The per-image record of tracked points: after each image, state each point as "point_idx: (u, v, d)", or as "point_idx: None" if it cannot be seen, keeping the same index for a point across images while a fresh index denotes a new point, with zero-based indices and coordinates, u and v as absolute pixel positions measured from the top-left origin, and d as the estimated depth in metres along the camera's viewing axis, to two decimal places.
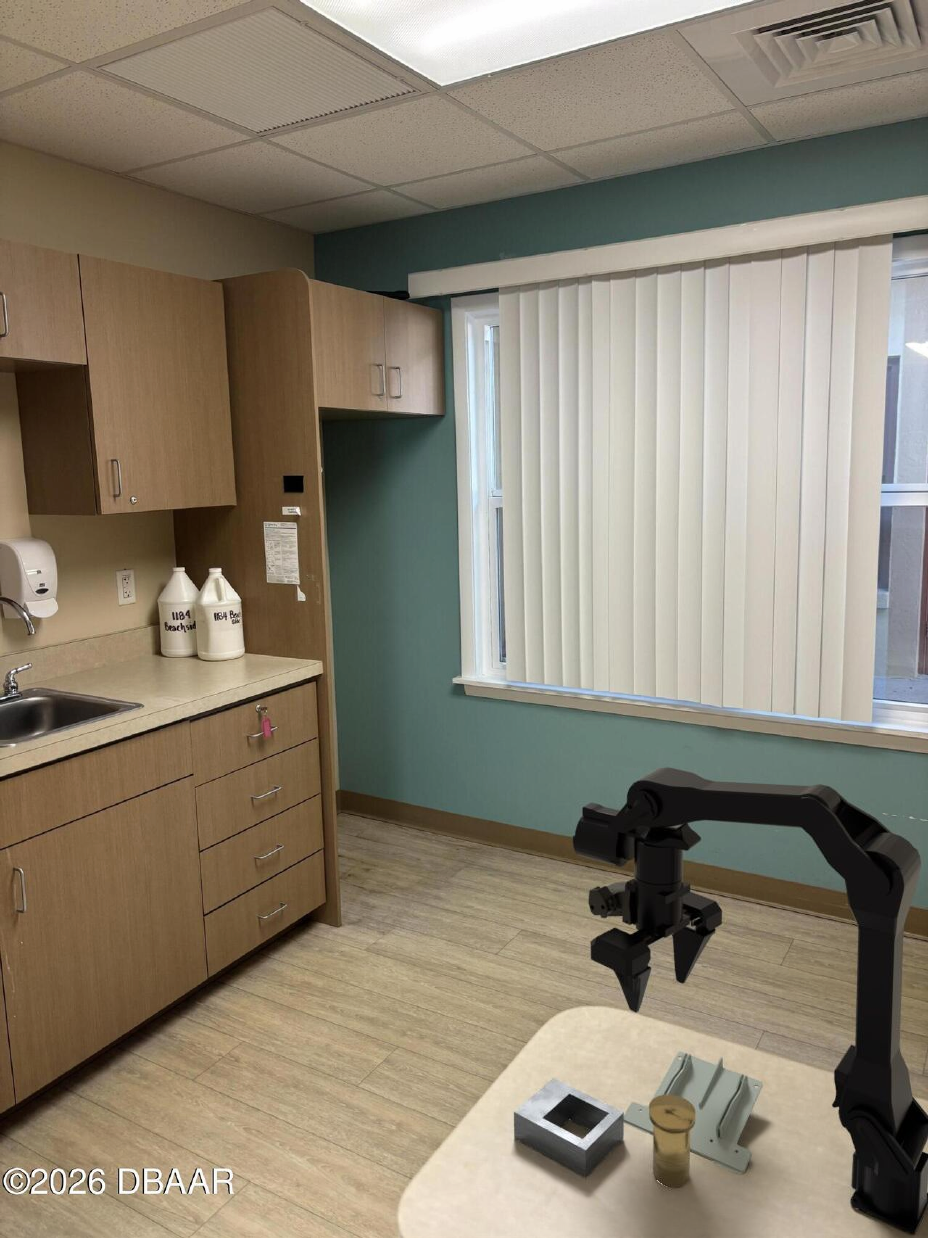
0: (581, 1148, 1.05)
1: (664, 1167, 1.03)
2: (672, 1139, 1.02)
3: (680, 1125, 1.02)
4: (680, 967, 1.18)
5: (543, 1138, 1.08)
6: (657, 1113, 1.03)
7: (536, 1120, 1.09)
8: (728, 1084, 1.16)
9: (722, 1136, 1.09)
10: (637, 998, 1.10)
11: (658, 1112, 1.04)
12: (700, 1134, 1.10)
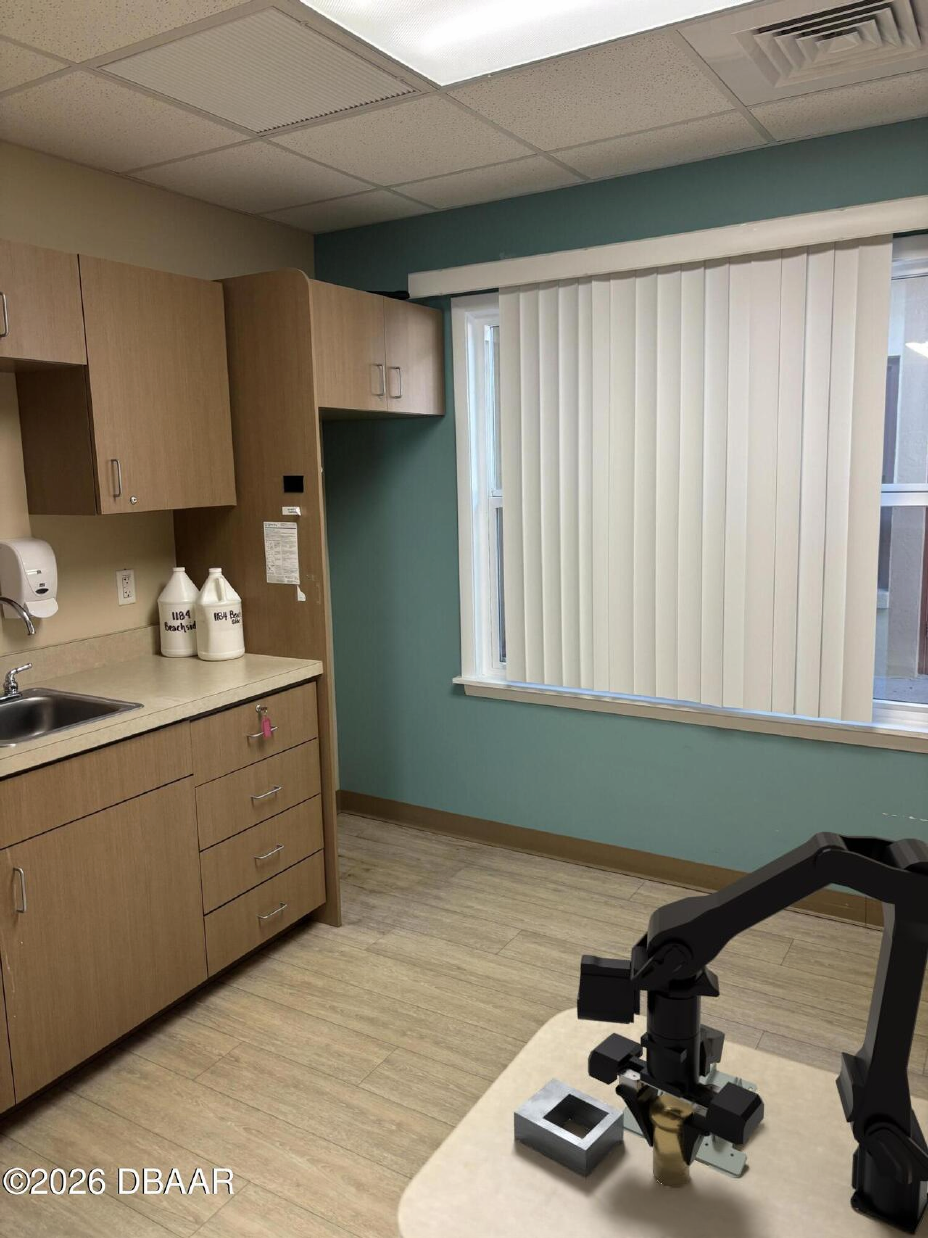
0: (581, 1148, 1.05)
1: (664, 1167, 1.03)
2: (672, 1139, 1.02)
3: (681, 1125, 1.02)
4: None
5: (543, 1138, 1.08)
6: (657, 1112, 1.04)
7: (536, 1120, 1.09)
8: (722, 1087, 1.15)
9: (717, 1139, 1.09)
10: (640, 1127, 1.06)
11: (658, 1112, 1.04)
12: None
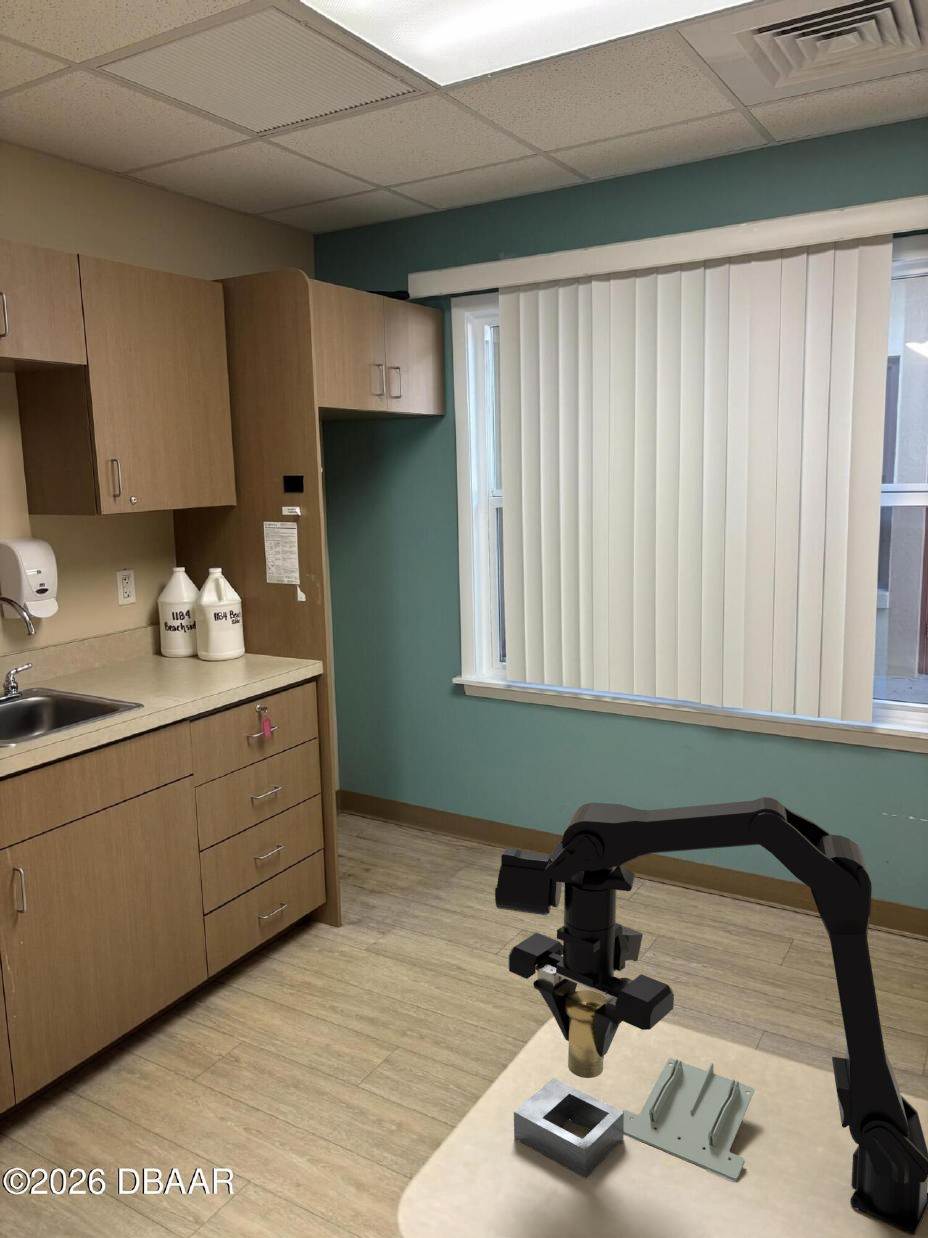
0: (581, 1148, 1.05)
1: (578, 1057, 1.06)
2: (586, 1029, 1.05)
3: (594, 1015, 1.04)
4: None
5: (543, 1138, 1.08)
6: (572, 1005, 1.06)
7: (536, 1120, 1.09)
8: (719, 1090, 1.15)
9: (714, 1143, 1.08)
10: None
11: (574, 1004, 1.06)
12: (692, 1142, 1.09)
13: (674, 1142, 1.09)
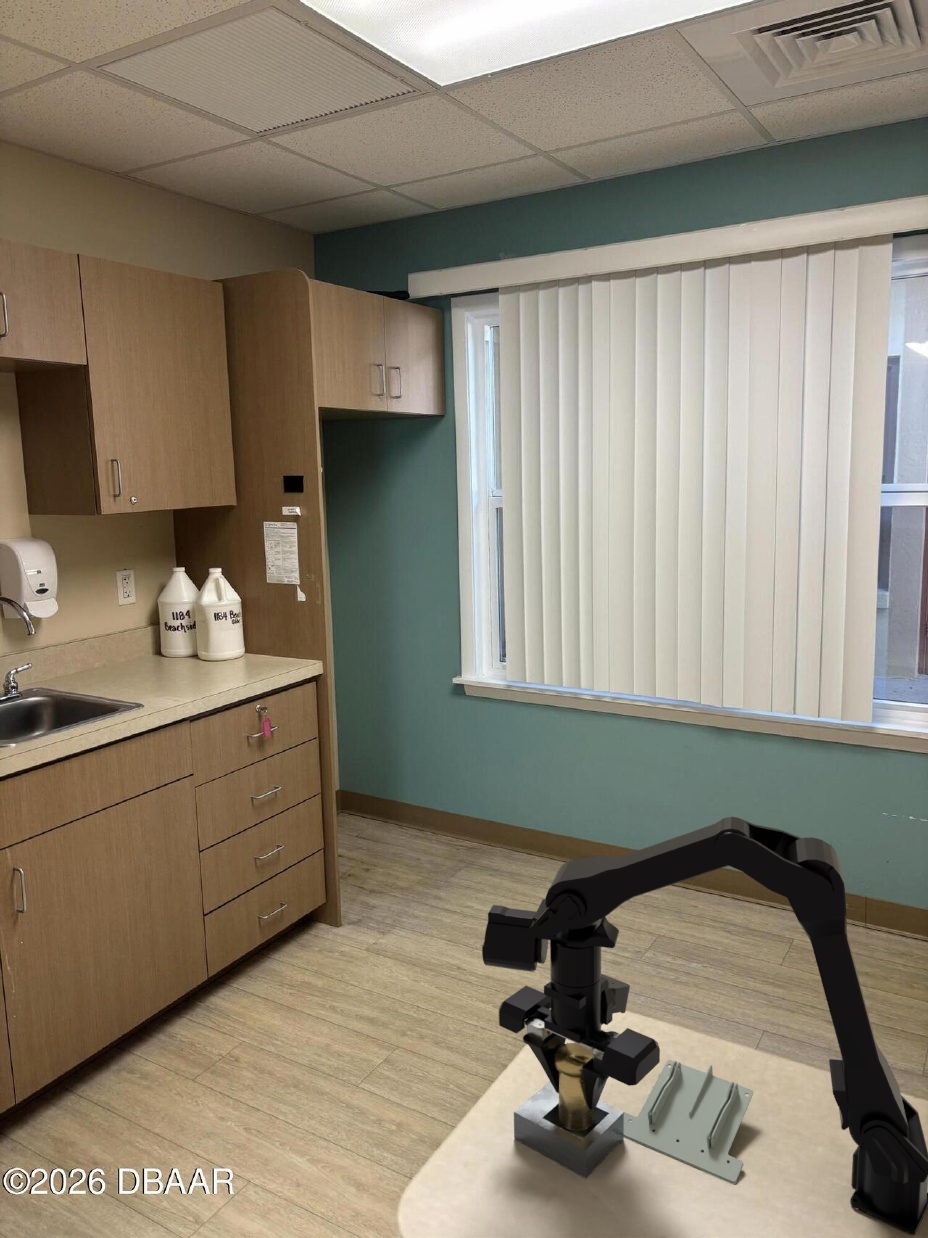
0: (581, 1148, 1.05)
1: (568, 1110, 1.08)
2: (575, 1083, 1.07)
3: (582, 1070, 1.06)
4: None
5: (543, 1138, 1.08)
6: (561, 1058, 1.08)
7: (536, 1120, 1.09)
8: (718, 1092, 1.14)
9: (713, 1146, 1.08)
10: (547, 1074, 1.10)
11: (562, 1058, 1.08)
12: (691, 1144, 1.09)
13: (672, 1144, 1.09)
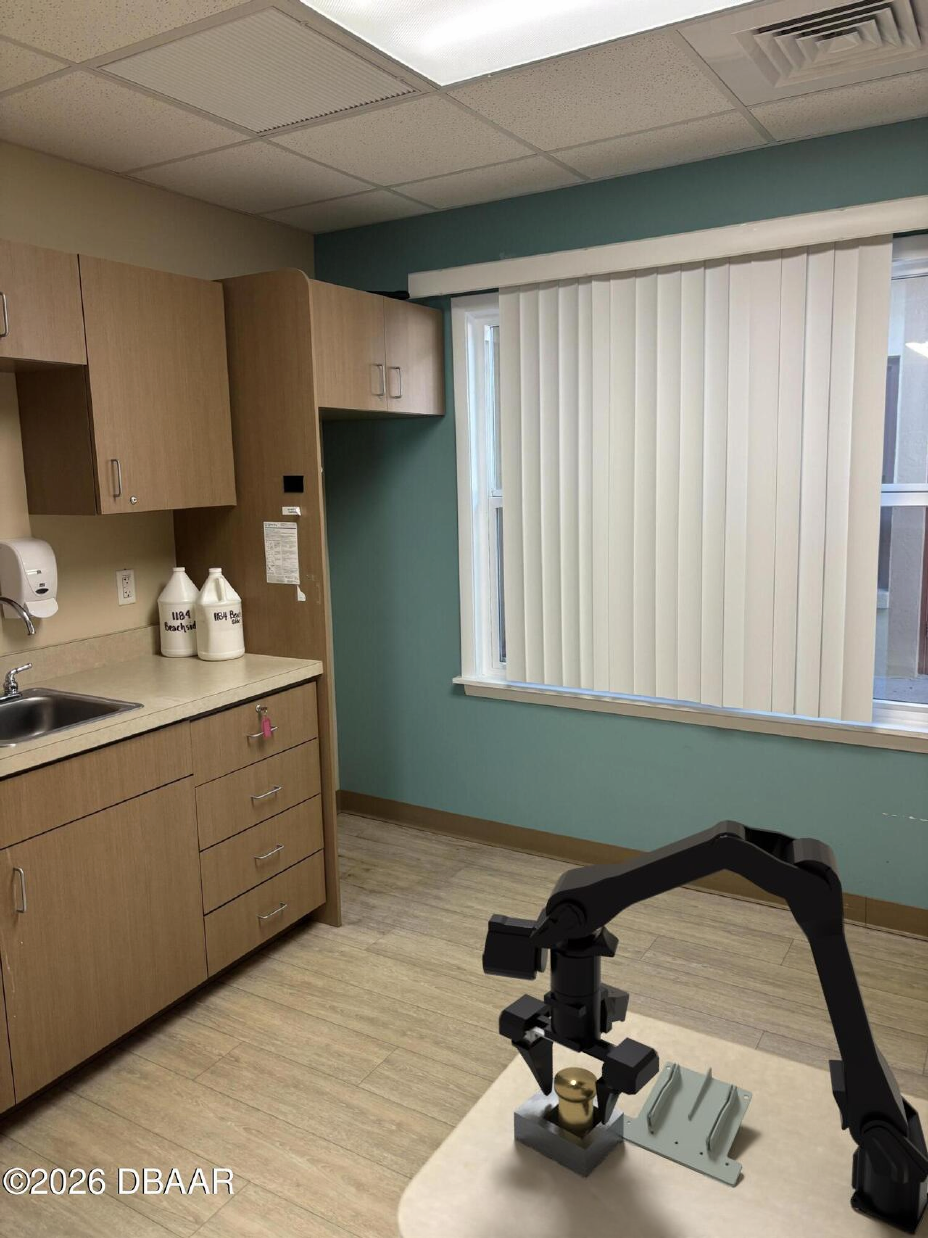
0: (581, 1148, 1.05)
1: None
2: (574, 1108, 1.08)
3: (581, 1095, 1.07)
4: None
5: (543, 1138, 1.08)
6: (561, 1084, 1.09)
7: (536, 1120, 1.09)
8: (717, 1094, 1.14)
9: (712, 1148, 1.07)
10: (535, 1076, 1.12)
11: (562, 1083, 1.09)
12: (690, 1146, 1.08)
13: (671, 1147, 1.09)
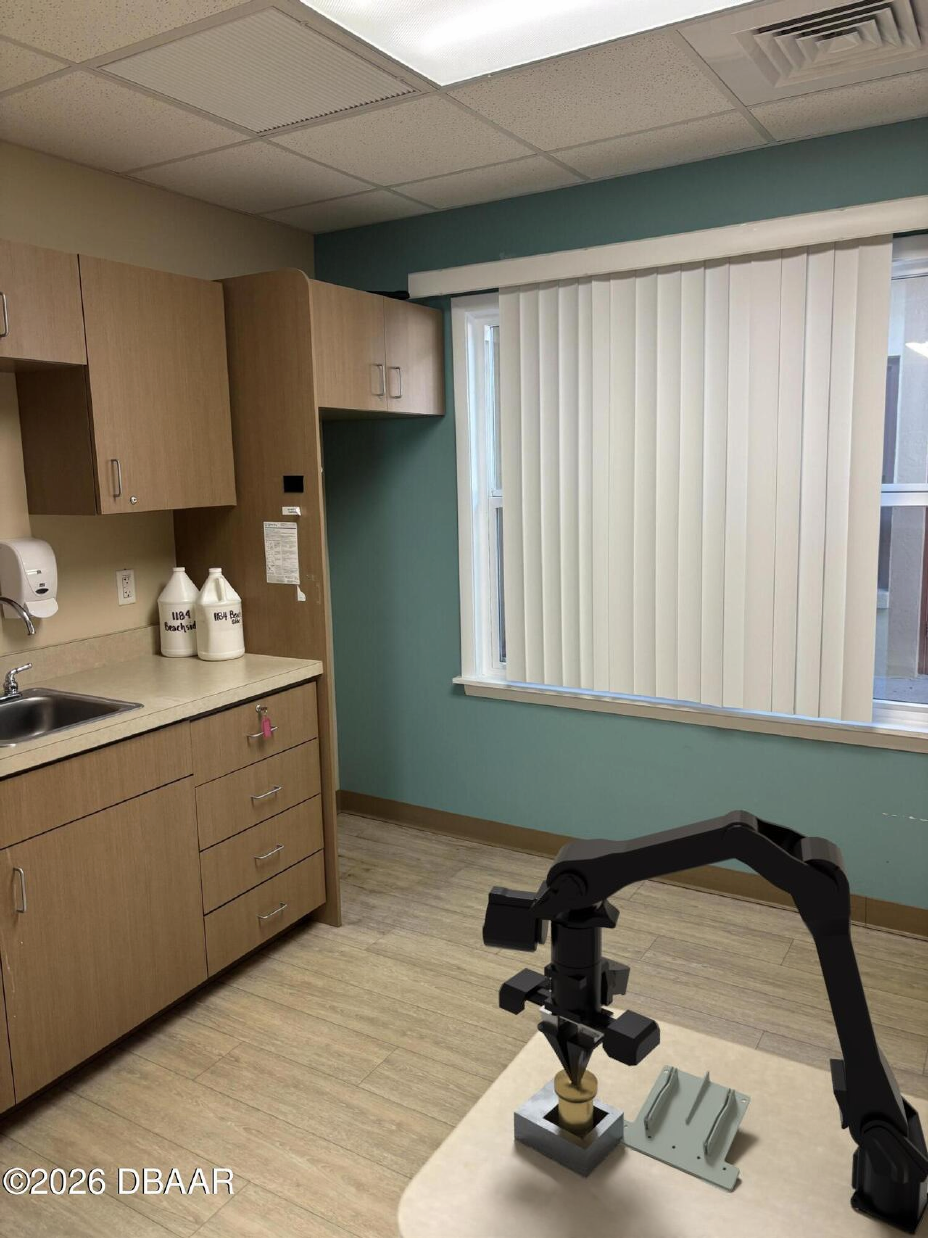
0: (581, 1148, 1.05)
1: None
2: (574, 1109, 1.08)
3: (581, 1095, 1.07)
4: None
5: (543, 1138, 1.08)
6: (561, 1084, 1.09)
7: (536, 1120, 1.09)
8: (715, 1098, 1.13)
9: (709, 1153, 1.07)
10: None
11: (562, 1083, 1.09)
12: (687, 1151, 1.08)
13: (668, 1151, 1.08)
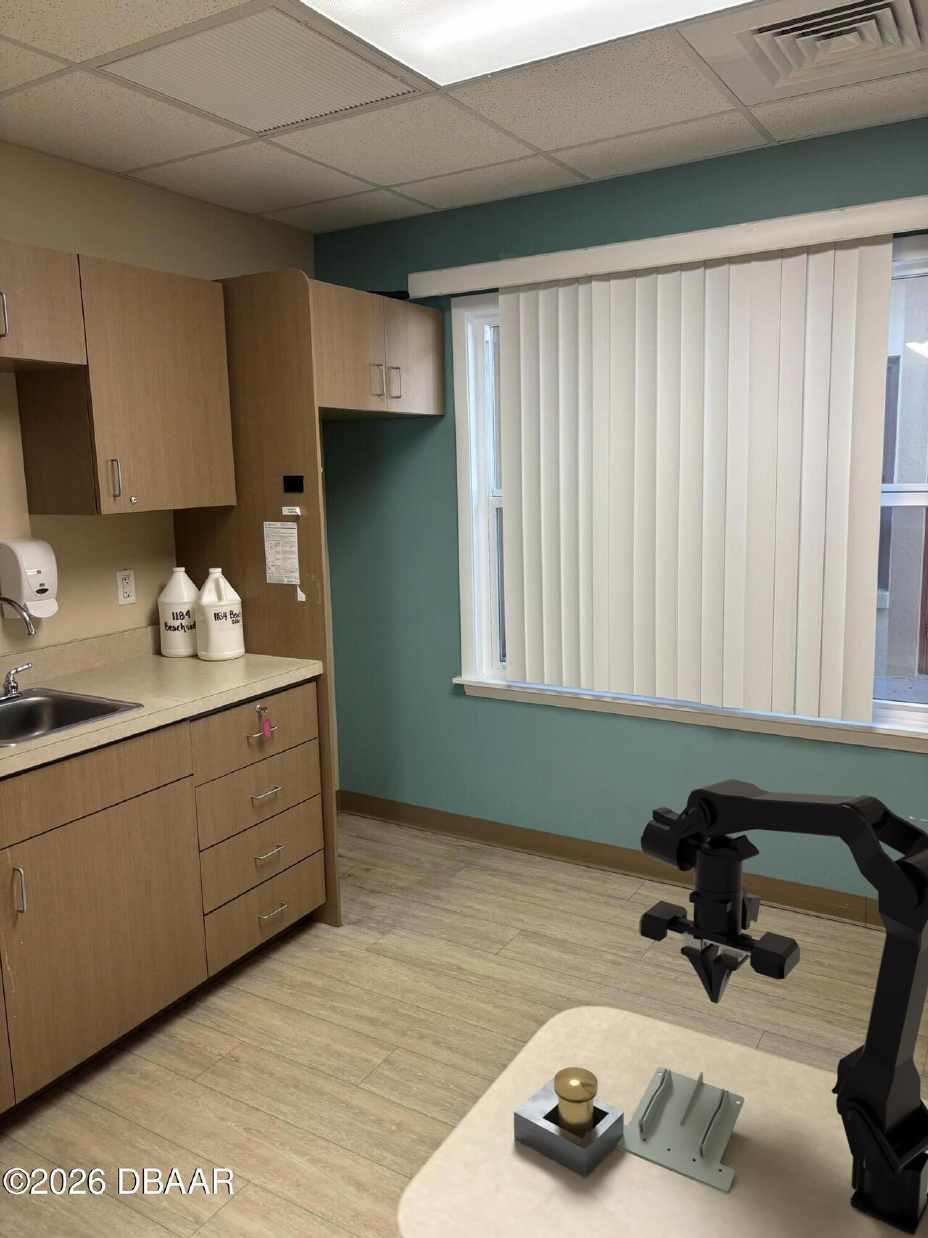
0: (581, 1148, 1.05)
1: None
2: (574, 1108, 1.08)
3: (581, 1095, 1.07)
4: None
5: (543, 1138, 1.08)
6: (560, 1084, 1.09)
7: (536, 1120, 1.09)
8: (709, 1100, 1.13)
9: (705, 1155, 1.06)
10: (703, 984, 1.17)
11: (562, 1083, 1.09)
12: (682, 1153, 1.07)
13: (664, 1154, 1.08)
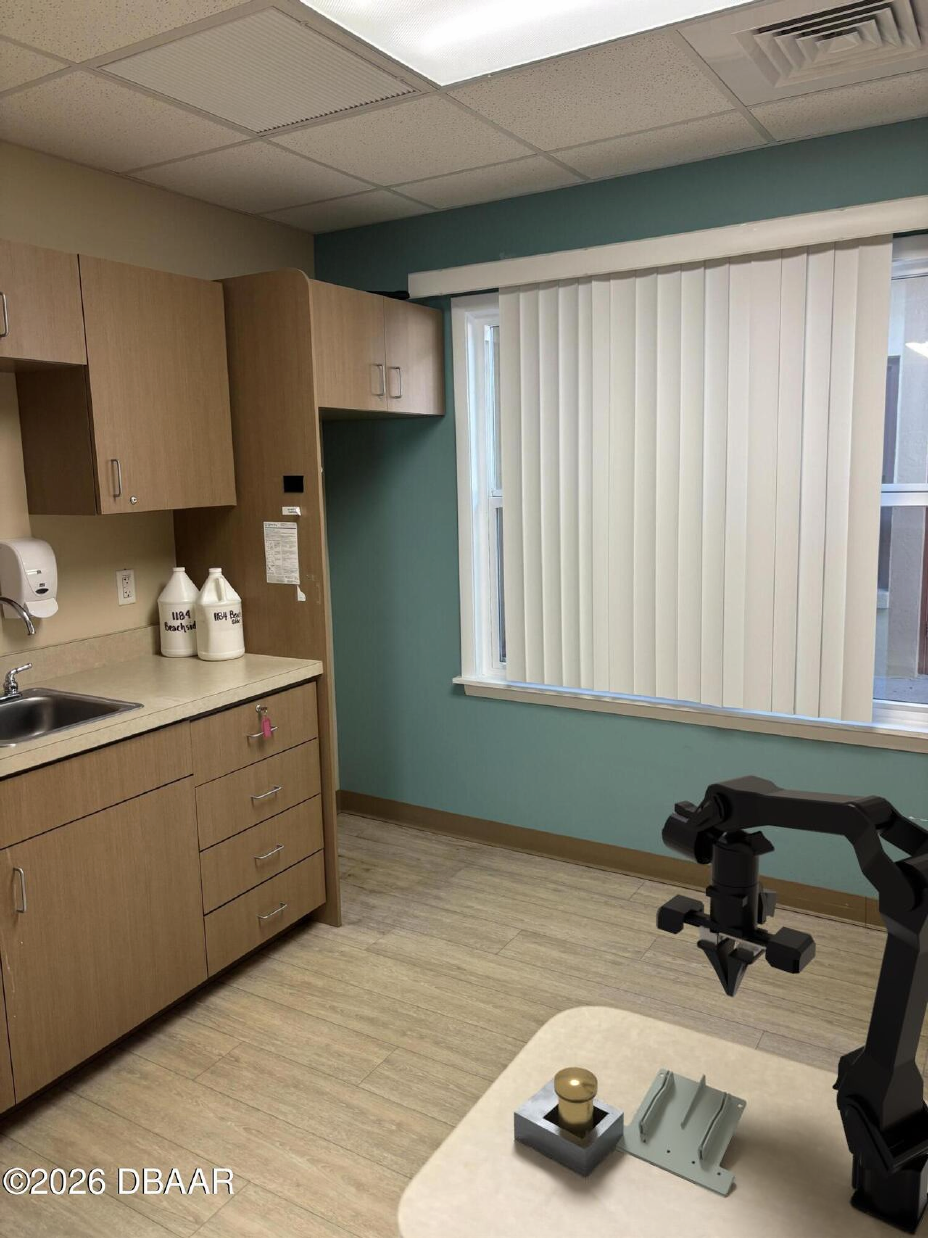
0: (581, 1148, 1.05)
1: None
2: (574, 1108, 1.08)
3: (581, 1095, 1.07)
4: None
5: (543, 1138, 1.08)
6: (560, 1084, 1.09)
7: (536, 1120, 1.09)
8: (711, 1102, 1.12)
9: (704, 1157, 1.06)
10: (719, 977, 1.18)
11: (562, 1083, 1.09)
12: (682, 1155, 1.07)
13: (663, 1155, 1.07)
